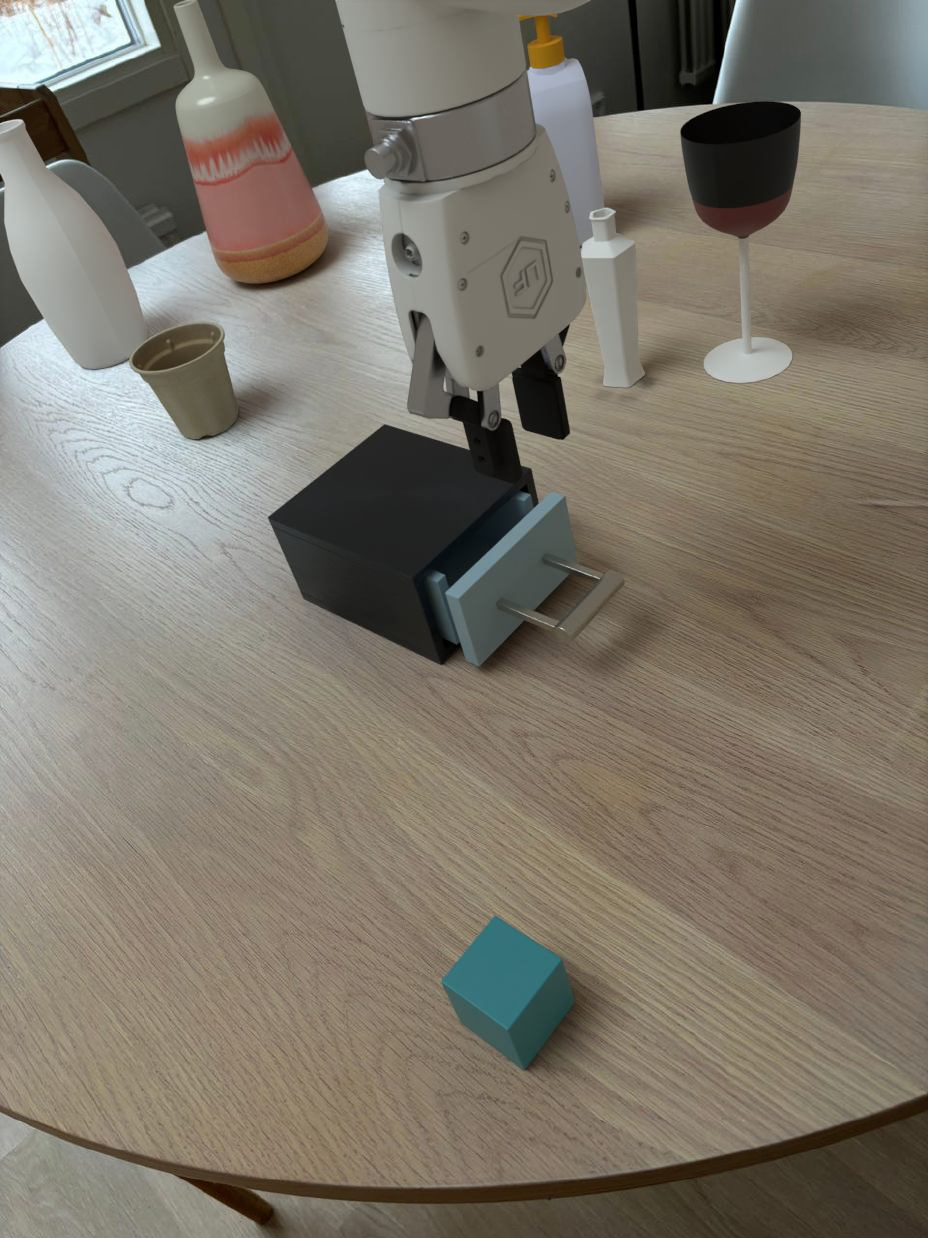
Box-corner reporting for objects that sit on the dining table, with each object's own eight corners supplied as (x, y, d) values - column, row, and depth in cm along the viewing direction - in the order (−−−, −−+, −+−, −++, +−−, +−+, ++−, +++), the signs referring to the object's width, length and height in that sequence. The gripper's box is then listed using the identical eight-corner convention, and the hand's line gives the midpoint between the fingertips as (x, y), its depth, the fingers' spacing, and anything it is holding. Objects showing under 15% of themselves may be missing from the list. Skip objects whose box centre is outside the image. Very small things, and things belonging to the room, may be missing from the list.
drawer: (652, 591, 69) (643, 519, 65) (553, 702, 64) (536, 631, 60) (441, 515, 81) (422, 449, 76) (342, 603, 75) (316, 538, 71)
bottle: (56, 383, 116) (-69, 158, 99) (82, 337, 125) (-30, 122, 108) (147, 364, 115) (35, 132, 98) (167, 318, 123) (67, 97, 106)
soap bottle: (533, 227, 119) (494, 9, 104) (591, 211, 119) (561, -10, 103) (547, 257, 112) (509, 29, 97) (609, 240, 112) (580, 9, 97)
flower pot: (193, 397, 107) (159, 322, 101) (271, 395, 103) (240, 317, 97) (149, 449, 100) (110, 373, 95) (229, 449, 97) (194, 370, 91)
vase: (204, 297, 125) (95, 34, 105) (256, 244, 134) (164, -8, 115) (306, 291, 120) (211, 12, 100) (352, 236, 129) (273, -29, 109)
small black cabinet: (550, 556, 75) (531, 468, 70) (441, 665, 70) (411, 578, 64) (410, 505, 84) (384, 423, 79) (303, 599, 78) (267, 517, 73)
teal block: (576, 1001, 50) (562, 958, 47) (525, 1071, 48) (507, 1031, 46) (511, 958, 53) (494, 914, 50) (460, 1022, 51) (439, 981, 48)
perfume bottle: (586, 378, 92) (561, 217, 82) (626, 358, 93) (606, 197, 83) (614, 397, 89) (591, 232, 79) (655, 376, 90) (638, 211, 80)
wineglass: (705, 336, 93) (690, 108, 80) (804, 334, 90) (806, 95, 76) (689, 384, 88) (670, 149, 75) (793, 383, 85) (794, 137, 71)
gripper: (390, 215, 41) (482, 557, 53) (622, 62, 48) (656, 392, 61) (272, 199, 45) (382, 519, 57) (502, 61, 53) (556, 369, 65)
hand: (522, 451), depth 59 cm, fingers open, 3 cm apart
